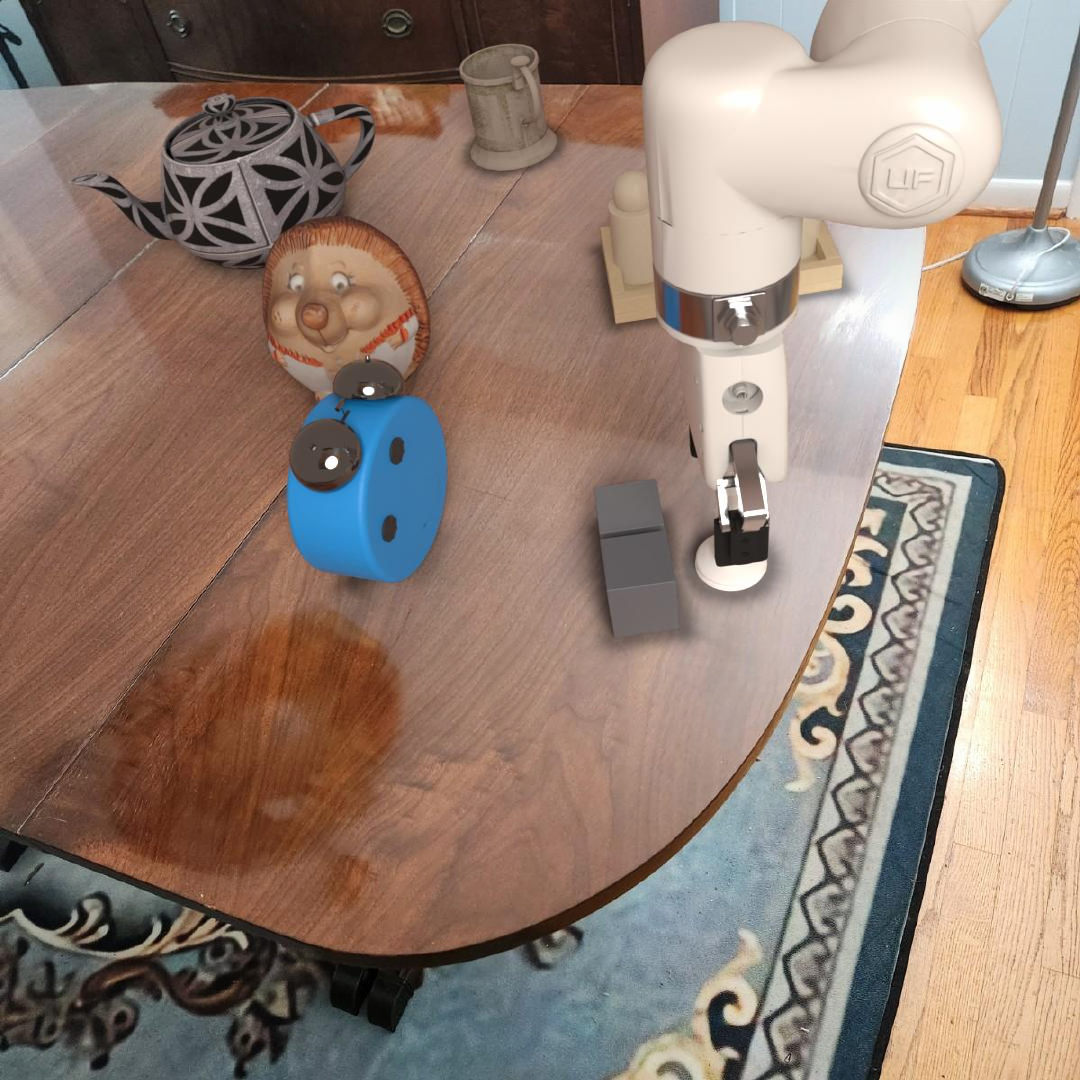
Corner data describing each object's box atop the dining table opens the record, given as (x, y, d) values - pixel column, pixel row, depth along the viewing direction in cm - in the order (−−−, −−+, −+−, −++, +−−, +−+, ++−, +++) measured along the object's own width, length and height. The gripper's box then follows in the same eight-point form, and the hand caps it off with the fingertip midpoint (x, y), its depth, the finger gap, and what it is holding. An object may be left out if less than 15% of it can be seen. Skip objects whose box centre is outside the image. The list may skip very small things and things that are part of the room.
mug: (458, 145, 116) (434, 39, 107) (534, 117, 118) (517, 10, 109) (508, 198, 107) (486, 86, 98) (590, 166, 108) (576, 54, 100)
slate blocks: (659, 520, 74) (655, 470, 70) (679, 629, 67) (675, 581, 63) (600, 528, 74) (592, 479, 70) (614, 638, 67) (606, 590, 64)
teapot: (115, 242, 113) (47, 113, 102) (372, 156, 117) (333, 23, 106) (132, 331, 101) (57, 195, 90) (419, 231, 105) (380, 90, 94)
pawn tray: (809, 216, 96) (816, 106, 88) (841, 288, 88) (851, 175, 80) (602, 249, 98) (590, 145, 90) (615, 324, 90) (603, 216, 82)
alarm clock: (395, 480, 81) (339, 330, 70) (465, 490, 79) (419, 336, 68) (324, 609, 73) (249, 462, 62) (401, 622, 71) (337, 474, 60)
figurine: (272, 448, 86) (202, 302, 74) (297, 334, 96) (239, 191, 85) (438, 427, 84) (391, 275, 73) (444, 313, 95) (405, 165, 84)
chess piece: (687, 584, 70) (680, 484, 62) (704, 531, 72) (700, 430, 65) (758, 597, 68) (760, 496, 60) (773, 543, 71) (777, 440, 63)
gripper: (839, 378, 47) (816, 600, 60) (764, 187, 58) (758, 408, 71) (679, 401, 47) (689, 617, 60) (635, 207, 59) (652, 423, 72)
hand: (726, 504), depth 66 cm, fingers open, 9 cm apart
